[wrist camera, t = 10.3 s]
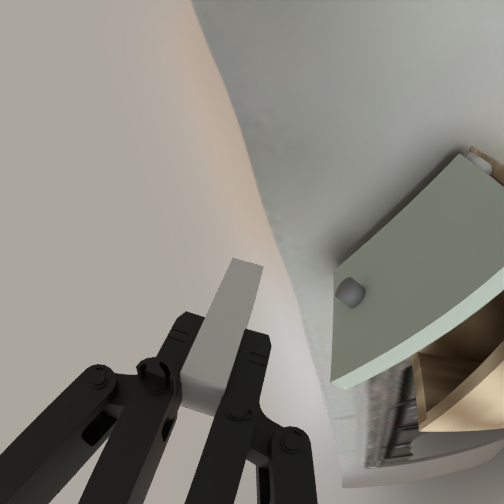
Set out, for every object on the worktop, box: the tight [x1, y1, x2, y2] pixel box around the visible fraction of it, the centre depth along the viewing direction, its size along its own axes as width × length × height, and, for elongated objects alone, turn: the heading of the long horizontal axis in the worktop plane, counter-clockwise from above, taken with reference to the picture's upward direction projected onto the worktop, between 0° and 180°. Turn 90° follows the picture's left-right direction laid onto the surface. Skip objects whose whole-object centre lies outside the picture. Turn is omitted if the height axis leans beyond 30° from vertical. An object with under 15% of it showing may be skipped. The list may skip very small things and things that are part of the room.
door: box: [330, 152, 504, 390], centre depth 19 cm, size 18×3×13 cm, turn 145°
